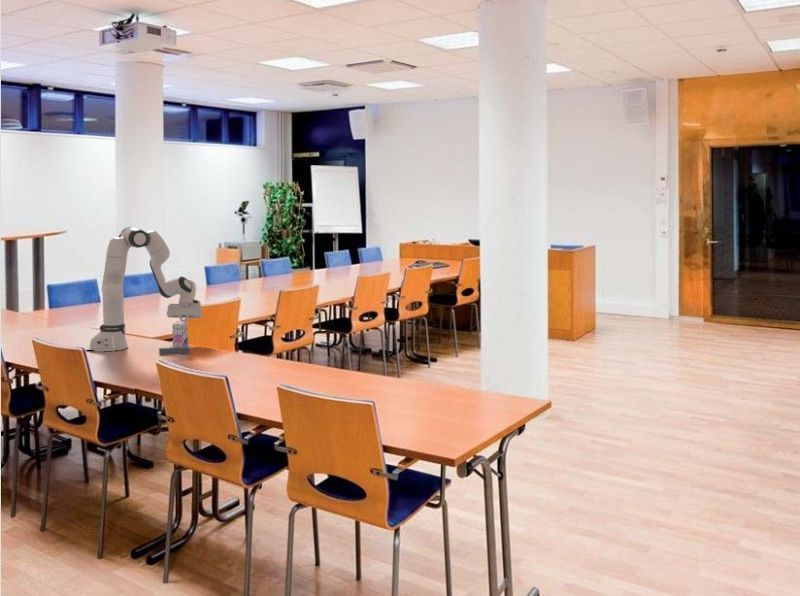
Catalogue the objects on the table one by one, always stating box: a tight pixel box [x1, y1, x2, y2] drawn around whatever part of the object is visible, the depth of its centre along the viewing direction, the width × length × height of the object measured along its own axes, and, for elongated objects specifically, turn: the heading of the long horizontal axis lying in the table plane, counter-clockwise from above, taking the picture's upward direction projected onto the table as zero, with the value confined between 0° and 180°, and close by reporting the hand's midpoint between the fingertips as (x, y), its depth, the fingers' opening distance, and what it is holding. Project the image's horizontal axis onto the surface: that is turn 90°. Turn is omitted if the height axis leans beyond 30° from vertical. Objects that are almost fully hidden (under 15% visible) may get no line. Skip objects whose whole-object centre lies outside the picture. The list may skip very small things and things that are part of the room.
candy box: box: [172, 320, 189, 348], centre depth 417 cm, size 14×6×16 cm, turn 5°
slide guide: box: [158, 344, 192, 355], centre depth 417 cm, size 16×19×4 cm
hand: (183, 322), depth 436 cm, fingers closed
